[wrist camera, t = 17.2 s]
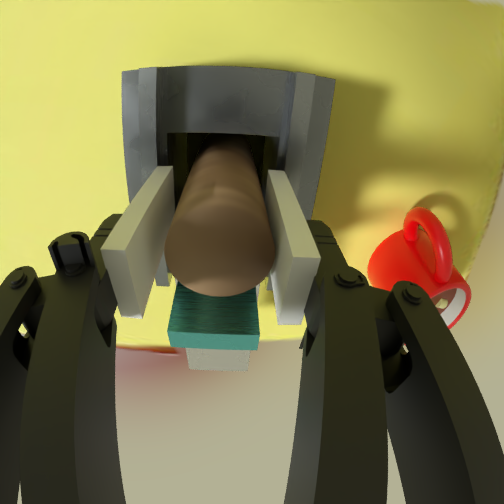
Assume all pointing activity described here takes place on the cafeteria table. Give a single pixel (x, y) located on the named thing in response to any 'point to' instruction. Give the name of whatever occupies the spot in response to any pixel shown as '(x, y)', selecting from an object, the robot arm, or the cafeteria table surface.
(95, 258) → the robot arm
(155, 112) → the mount
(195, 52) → the cafeteria table surface
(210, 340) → the grey teal l-shaped bracket
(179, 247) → the dowel
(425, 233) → the mug
